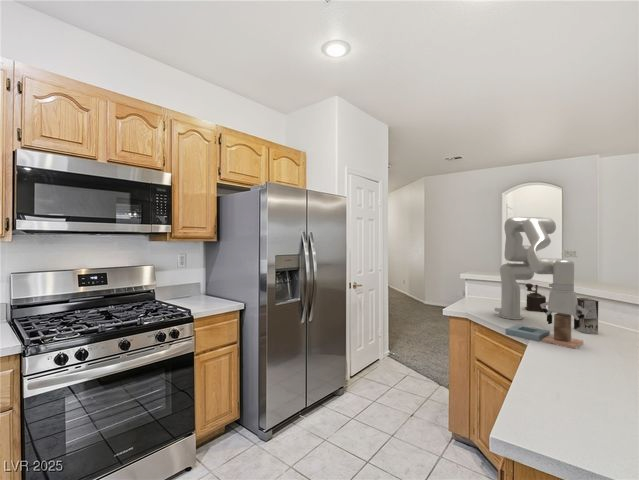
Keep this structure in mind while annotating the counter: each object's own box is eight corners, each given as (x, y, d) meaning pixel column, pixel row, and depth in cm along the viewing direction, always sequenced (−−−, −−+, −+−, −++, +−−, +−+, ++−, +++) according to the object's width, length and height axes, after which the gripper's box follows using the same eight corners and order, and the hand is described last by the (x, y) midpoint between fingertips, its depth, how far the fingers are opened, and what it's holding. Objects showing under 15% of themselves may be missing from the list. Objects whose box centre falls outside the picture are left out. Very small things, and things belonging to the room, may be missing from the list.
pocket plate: (505, 333, 157) (505, 328, 157) (517, 329, 165) (517, 324, 165) (538, 341, 146) (538, 335, 146) (549, 335, 154) (549, 330, 154)
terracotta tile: (542, 341, 145) (542, 338, 145) (551, 336, 153) (551, 334, 153) (574, 348, 136) (574, 345, 136) (583, 343, 143) (583, 340, 143)
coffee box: (598, 334, 157) (599, 301, 157) (583, 333, 159) (584, 300, 158) (587, 329, 166) (587, 297, 166) (573, 328, 167) (573, 297, 167)
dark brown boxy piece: (525, 307, 218) (525, 280, 217) (545, 309, 212) (545, 282, 211) (525, 311, 204) (525, 283, 204) (546, 314, 198) (546, 285, 198)
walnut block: (553, 339, 145) (554, 314, 145) (557, 337, 148) (557, 313, 148) (567, 342, 141) (567, 316, 141) (570, 339, 144) (571, 315, 144)
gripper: (537, 286, 149) (537, 323, 149) (585, 291, 135) (584, 332, 135) (543, 284, 153) (543, 320, 153) (590, 289, 140) (589, 329, 140)
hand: (562, 326), depth 144 cm, fingers open, 9 cm apart
